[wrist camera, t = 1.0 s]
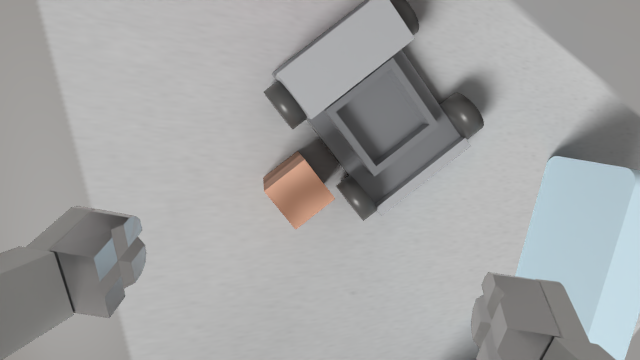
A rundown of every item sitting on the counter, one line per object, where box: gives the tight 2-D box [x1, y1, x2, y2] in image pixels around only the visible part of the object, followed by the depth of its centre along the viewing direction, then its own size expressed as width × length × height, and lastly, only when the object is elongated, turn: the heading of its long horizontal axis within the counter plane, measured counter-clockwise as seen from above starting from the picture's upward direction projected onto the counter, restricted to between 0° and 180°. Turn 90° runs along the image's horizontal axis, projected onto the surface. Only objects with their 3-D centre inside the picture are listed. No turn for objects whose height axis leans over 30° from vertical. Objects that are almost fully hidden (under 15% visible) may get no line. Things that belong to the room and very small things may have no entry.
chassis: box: [264, 0, 484, 221], centre depth 47 cm, size 20×17×6 cm
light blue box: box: [515, 156, 640, 360], centre depth 50 cm, size 23×6×13 cm, turn 168°
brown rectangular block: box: [263, 151, 335, 229], centre depth 47 cm, size 5×5×8 cm
